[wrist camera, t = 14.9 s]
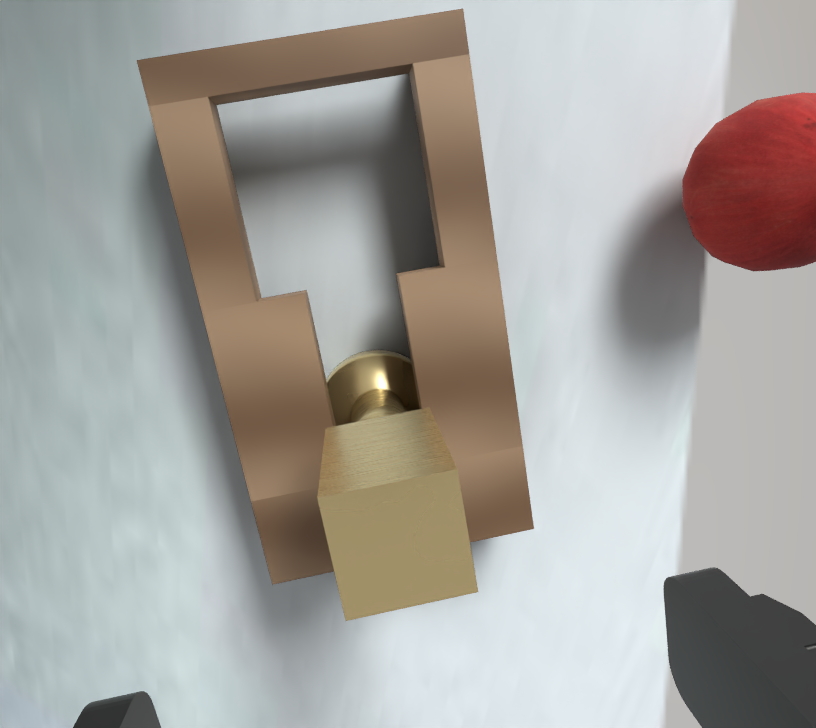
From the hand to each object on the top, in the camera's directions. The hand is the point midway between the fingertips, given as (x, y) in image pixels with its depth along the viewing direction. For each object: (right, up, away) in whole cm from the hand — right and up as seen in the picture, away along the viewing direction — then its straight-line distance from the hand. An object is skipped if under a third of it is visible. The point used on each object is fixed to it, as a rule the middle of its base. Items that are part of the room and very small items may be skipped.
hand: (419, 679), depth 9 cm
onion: (+12, +12, +15) cm, 23 cm away
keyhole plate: (-2, +7, +14) cm, 16 cm away
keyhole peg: (-1, +3, +15) cm, 16 cm away
